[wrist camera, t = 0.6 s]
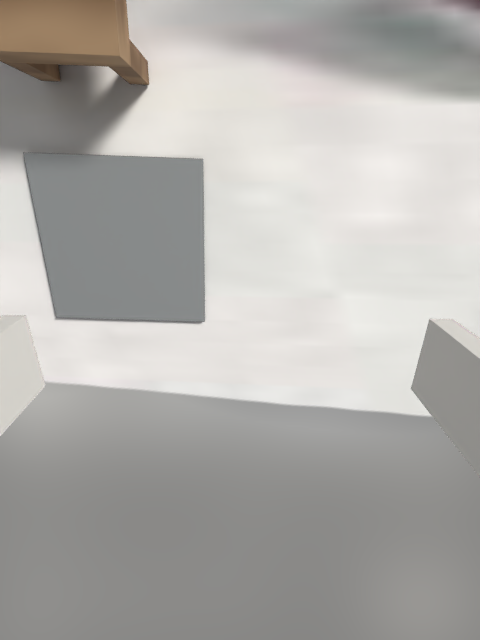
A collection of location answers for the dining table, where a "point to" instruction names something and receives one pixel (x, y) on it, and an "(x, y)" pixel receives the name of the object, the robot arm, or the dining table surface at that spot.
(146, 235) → the mat
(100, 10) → the wooden stool
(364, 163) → the dining table surface
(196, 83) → the dining table surface
